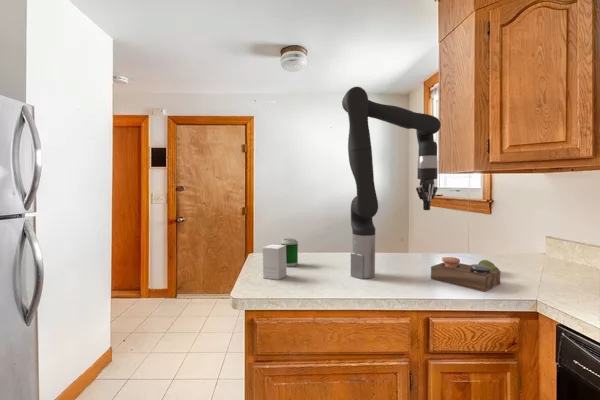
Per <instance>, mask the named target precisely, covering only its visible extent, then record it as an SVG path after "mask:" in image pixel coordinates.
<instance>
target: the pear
mask: <svg viewBox="0 0 600 400" xmlns="http://www.w3.org/2000/svg"><path fill="white" fill-rule="evenodd" d="M478 264H479V265H486V266H489V267H490V269H493V270H499V271H500V269H499V268H498V267H497V266H496V265H495V264H494V262H492V261H490V260H487V259H482V260H480V261H479V262H478Z"/></svg>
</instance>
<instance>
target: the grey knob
mask: <svg viewBox="0 0 600 400" xmlns="http://www.w3.org/2000/svg"><path fill="white" fill-rule="evenodd" d="M469 265H470V268H471V269H472V270H473V272H475V273H480V274H487V271H490V267H489V266H486V265H479V263H478V264H475V263H474V264H469Z"/></svg>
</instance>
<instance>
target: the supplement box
mask: <svg viewBox="0 0 600 400" xmlns="http://www.w3.org/2000/svg"><path fill="white" fill-rule="evenodd" d="M287 271H288V270H287V267H286V245H281V244H272V243H271V244H269V245H266V246H263V247H262V275H263V277H262V278H263V279H267V280H269V279H270V280H275V281H277V280H278V281H279V280H281V279H283V278H285V277H287V275H288V274H287V273H288V272H287Z"/></svg>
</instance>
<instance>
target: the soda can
mask: <svg viewBox="0 0 600 400" xmlns="http://www.w3.org/2000/svg"><path fill="white" fill-rule="evenodd" d="M280 243H281V244H280V245H286V266H287V267H286V268H288V267H289V268H291V267H292V266H293V267H295V266H297V264H298V263H299V261H298V259H299V258H298V257H299V255H298V253H299V244H298V243H299V242H298V240H297V239H296V238H283V239H282V241H281V242H280ZM293 267H292V268H293Z"/></svg>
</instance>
